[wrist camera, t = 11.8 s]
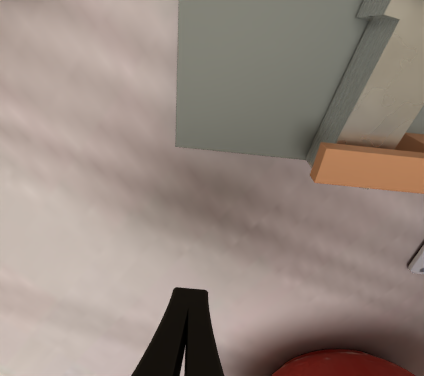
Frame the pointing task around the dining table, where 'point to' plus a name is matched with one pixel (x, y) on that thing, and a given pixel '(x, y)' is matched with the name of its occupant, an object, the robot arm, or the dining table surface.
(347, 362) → the mixing bowl
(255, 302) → the dining table surface
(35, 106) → the dining table surface
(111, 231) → the dining table surface
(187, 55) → the base
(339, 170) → the bracket
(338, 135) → the latch
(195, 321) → the robot arm
